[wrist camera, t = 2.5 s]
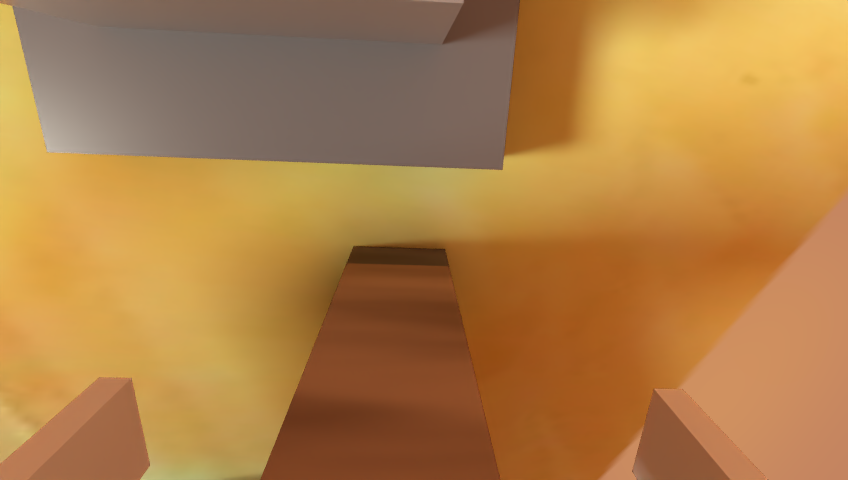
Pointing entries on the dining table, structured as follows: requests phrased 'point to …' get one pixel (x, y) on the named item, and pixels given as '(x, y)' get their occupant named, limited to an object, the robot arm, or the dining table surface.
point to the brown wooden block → (388, 381)
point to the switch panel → (274, 79)
